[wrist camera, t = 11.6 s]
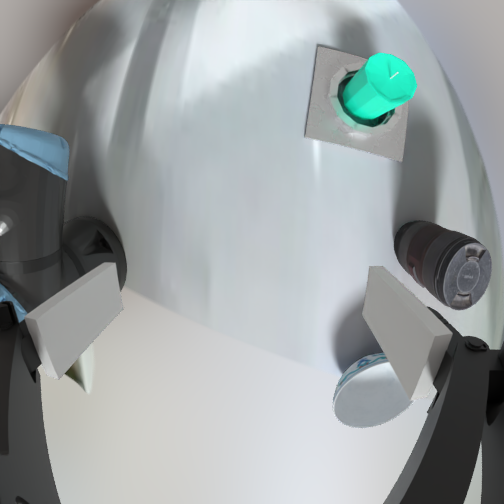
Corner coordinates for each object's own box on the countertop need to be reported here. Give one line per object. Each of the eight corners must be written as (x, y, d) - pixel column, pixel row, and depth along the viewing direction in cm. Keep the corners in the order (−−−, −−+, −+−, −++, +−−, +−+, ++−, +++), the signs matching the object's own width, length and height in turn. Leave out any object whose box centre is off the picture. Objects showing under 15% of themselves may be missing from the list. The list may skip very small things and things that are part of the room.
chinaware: (369, 406, 46) (377, 434, 39) (309, 383, 45) (313, 414, 38) (421, 352, 42) (438, 377, 35) (364, 320, 41) (378, 347, 34)
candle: (333, 100, 32) (358, 70, 21) (357, 72, 31) (387, 36, 19) (368, 129, 33) (406, 112, 21) (391, 100, 31) (432, 77, 20)
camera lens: (430, 268, 38) (485, 309, 24) (387, 269, 39) (433, 316, 24) (436, 217, 36) (499, 241, 21) (391, 215, 36) (448, 239, 22)
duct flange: (304, 137, 35) (307, 134, 32) (317, 48, 31) (320, 39, 28) (399, 162, 34) (409, 161, 31) (408, 75, 30) (416, 69, 28)
